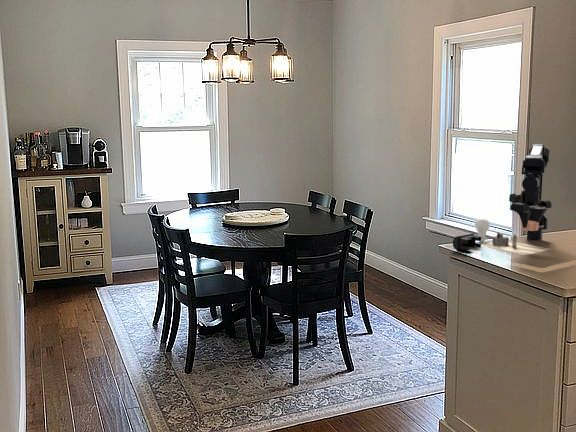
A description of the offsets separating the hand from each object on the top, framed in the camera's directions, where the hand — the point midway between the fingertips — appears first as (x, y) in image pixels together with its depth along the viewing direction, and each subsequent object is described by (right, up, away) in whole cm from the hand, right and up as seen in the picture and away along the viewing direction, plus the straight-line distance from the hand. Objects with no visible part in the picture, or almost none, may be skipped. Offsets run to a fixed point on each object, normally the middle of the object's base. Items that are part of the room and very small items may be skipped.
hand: (530, 226), depth 257 cm
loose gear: (0, -1, 0) cm, 1 cm away
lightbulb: (-12, -7, +24) cm, 28 cm away
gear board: (-4, -10, +8) cm, 13 cm away
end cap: (-23, -10, +9) cm, 27 cm away
